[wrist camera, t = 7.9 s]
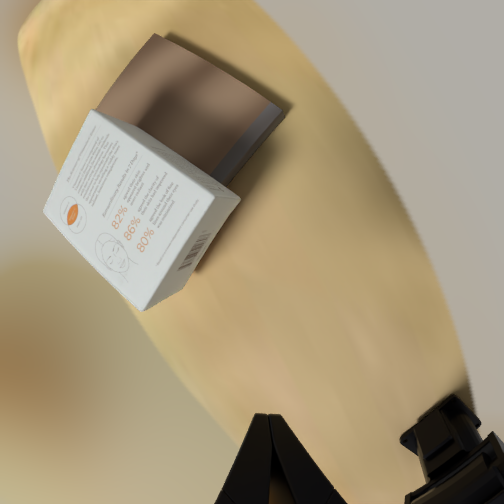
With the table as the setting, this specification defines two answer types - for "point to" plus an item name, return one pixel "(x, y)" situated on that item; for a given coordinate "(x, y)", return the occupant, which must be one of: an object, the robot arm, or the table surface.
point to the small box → (136, 209)
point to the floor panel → (192, 108)
